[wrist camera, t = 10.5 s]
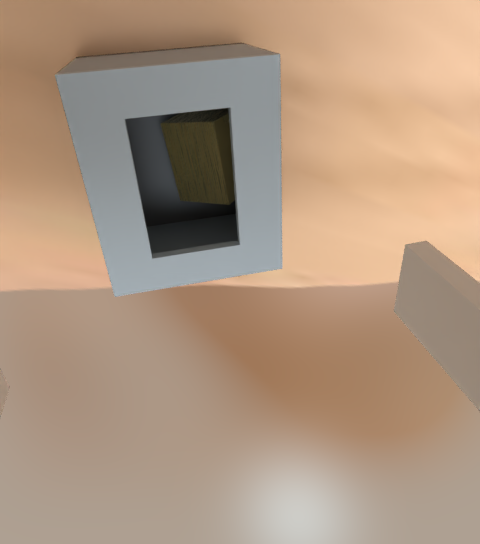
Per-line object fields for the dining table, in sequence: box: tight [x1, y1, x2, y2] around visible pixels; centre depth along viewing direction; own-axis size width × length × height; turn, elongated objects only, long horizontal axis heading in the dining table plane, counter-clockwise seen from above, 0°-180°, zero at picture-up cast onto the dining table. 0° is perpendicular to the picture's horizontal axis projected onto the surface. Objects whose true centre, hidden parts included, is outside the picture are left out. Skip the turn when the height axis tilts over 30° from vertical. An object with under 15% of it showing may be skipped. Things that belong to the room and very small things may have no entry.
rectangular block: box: [161, 108, 235, 205], centre depth 32 cm, size 6×4×4 cm
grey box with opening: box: [55, 43, 282, 297], centre depth 30 cm, size 14×12×10 cm
